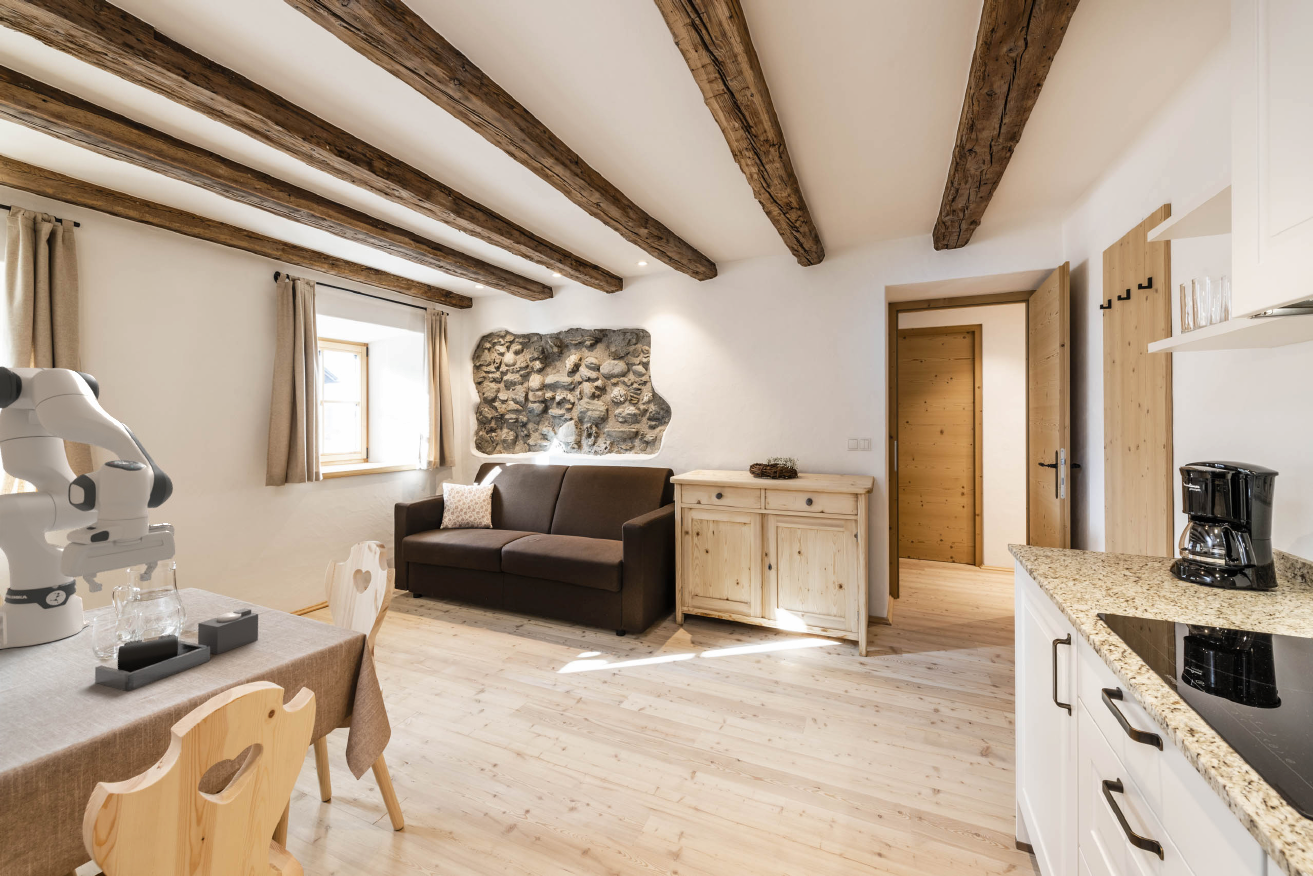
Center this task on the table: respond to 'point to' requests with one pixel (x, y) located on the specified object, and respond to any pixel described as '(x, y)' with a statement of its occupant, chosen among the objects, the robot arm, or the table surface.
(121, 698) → the table surface
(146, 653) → the end cap
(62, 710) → the table surface
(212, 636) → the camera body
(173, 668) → the tray
